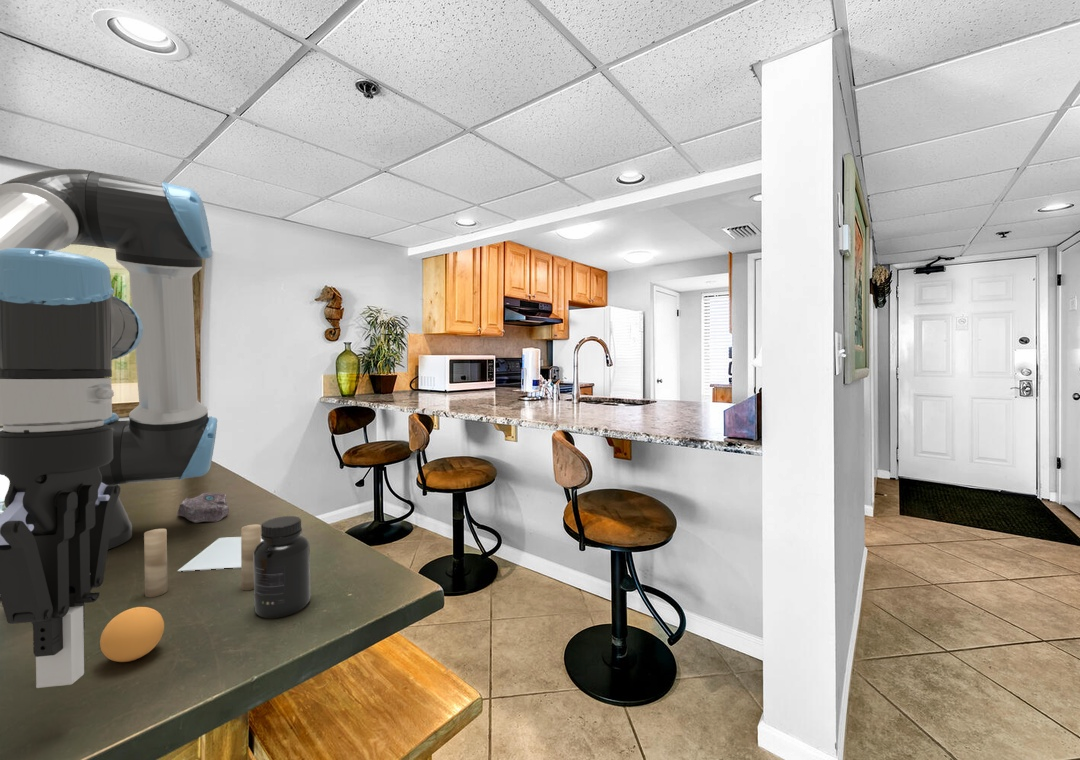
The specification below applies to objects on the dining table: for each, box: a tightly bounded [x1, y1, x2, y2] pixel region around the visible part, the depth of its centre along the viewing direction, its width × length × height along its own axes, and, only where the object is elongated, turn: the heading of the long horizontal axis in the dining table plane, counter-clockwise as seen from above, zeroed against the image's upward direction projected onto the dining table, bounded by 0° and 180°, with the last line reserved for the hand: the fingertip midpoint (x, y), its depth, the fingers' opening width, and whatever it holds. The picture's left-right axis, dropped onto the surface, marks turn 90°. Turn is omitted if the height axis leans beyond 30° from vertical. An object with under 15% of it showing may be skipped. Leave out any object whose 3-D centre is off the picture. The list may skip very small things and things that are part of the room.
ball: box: [99, 606, 165, 663], centre depth 53 cm, size 6×6×6 cm
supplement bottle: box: [253, 515, 311, 619], centre depth 64 cm, size 7×7×12 cm
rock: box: [177, 492, 230, 524], centre depth 100 cm, size 8×11×5 cm
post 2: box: [240, 524, 262, 591], centre depth 70 cm, size 2×2×9 cm
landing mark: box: [177, 536, 263, 573], centre depth 83 cm, size 14×14×1 cm
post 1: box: [143, 528, 168, 598], centre depth 67 cm, size 2×2×9 cm
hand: (60, 680), depth 43 cm, fingers closed
